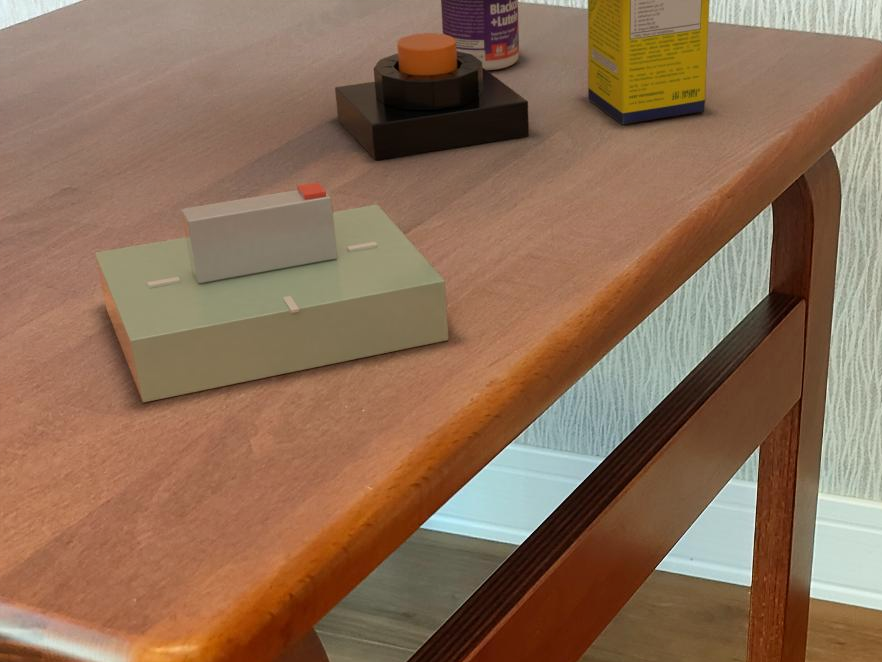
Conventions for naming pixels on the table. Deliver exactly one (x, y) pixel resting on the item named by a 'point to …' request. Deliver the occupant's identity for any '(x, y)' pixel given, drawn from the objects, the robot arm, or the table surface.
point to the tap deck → (270, 309)
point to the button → (427, 54)
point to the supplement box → (647, 57)
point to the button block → (430, 109)
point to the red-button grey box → (260, 233)
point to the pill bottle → (484, 29)
